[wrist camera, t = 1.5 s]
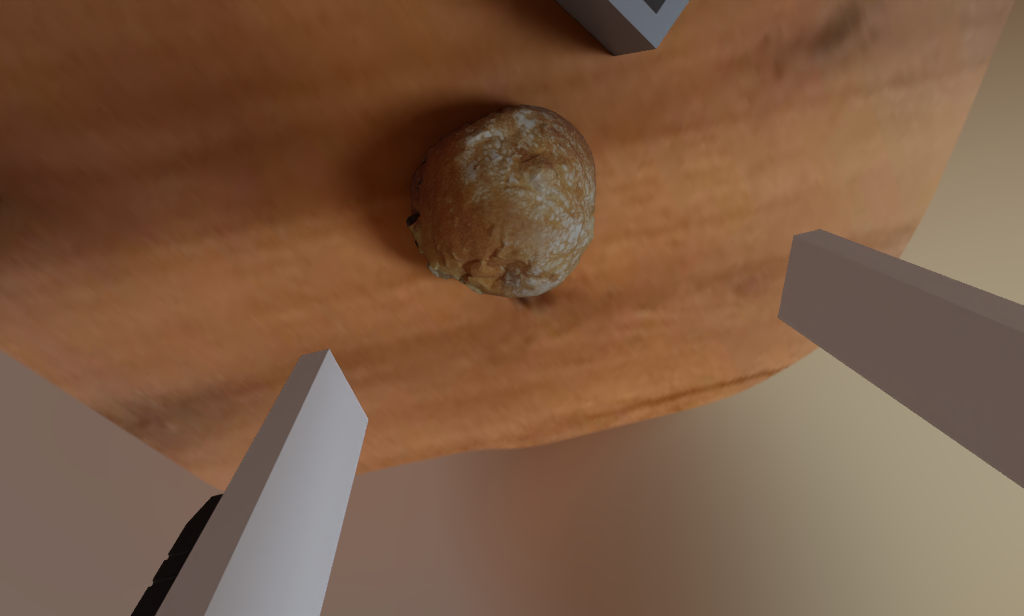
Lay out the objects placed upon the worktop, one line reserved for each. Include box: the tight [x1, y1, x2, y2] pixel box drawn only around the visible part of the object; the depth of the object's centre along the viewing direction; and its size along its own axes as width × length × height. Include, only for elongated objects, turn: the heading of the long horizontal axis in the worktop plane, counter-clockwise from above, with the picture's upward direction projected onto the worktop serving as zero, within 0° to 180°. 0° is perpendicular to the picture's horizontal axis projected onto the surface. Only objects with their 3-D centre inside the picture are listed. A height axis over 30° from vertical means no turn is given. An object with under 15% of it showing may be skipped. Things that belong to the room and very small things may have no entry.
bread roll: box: [406, 105, 596, 297], centre depth 20 cm, size 10×10×8 cm
